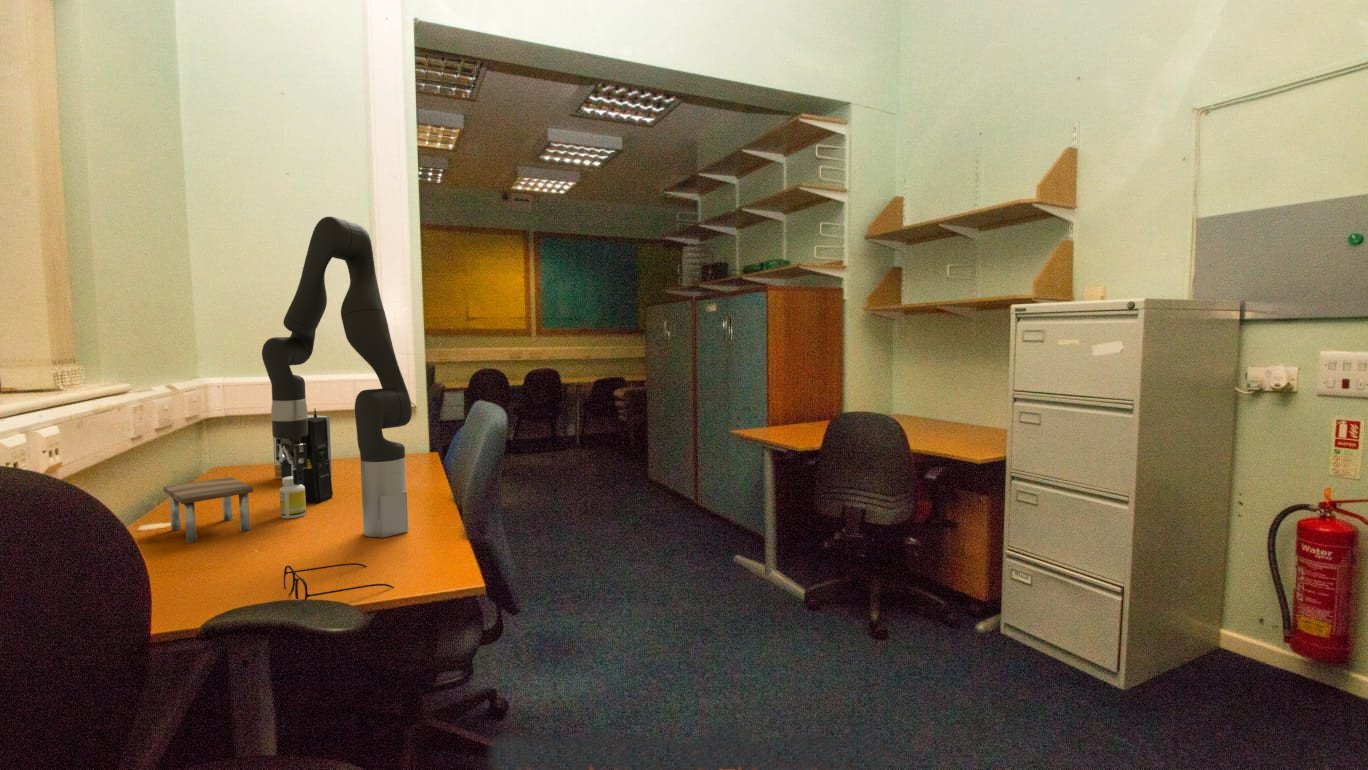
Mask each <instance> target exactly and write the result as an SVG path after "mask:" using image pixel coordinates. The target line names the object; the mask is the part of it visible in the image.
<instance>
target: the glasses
mask: <svg viewBox="0 0 1368 770" xmlns="http://www.w3.org/2000/svg"><path fill="white" fill-rule="evenodd" d="M344 566H361V567H363V568H367V567H368V566H367V565H365V564H362V563H356V562H355V563H353V562H352V563H348V562H347V563H340V564H333V565H325V566H320V567H311V568H305V569H299V570H294V569H293V568H292V566H291V565H285V568H284V570H283V587H284V590H287V587H286V576H287V574H291V575H292V586H291V589H290V592H289V593H288V595H292V594H293V593H294V595H295V596H294V597H295V600H296V599H299V591H298V590H299V587H298V585H299V581H301V582H302V584H303V586H304V587H303V588H304V601H305V600H306V601H307V599H308V598H310V597H317V596H322V595H328V594H333V593H339V592H346V591H351V590H356V589H363V588H369V587H388V588H392V589H394V588H395V586H392V585H391V584H387V583H375V584H374V583H372V584H364V585H359V586H354V587H353V586H351V587H348V588H346V587H345V588H343V589H342V588H340V589H336V590H335V589H334V590H329V591H323V592H318V593H310V594H309V593H308V585H307V582H306V581H305V580H304V578H302V577H300V576H299V575H298V574H297V573H300V572H302V573H303V572H309V571H314V570H315V571H316V570H322V569H327V568H335V567H344ZM287 569H289V570H290V571H287ZM296 577H297V578H296ZM299 600H300V599H299Z"/></svg>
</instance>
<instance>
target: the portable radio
mask: <svg viewBox="0 0 1368 770" xmlns="http://www.w3.org/2000/svg"><path fill="white" fill-rule="evenodd" d="M313 410H314V414H313V415H314V417H311V418H308V434H307V435H306V436H304V437H301V438H300V440H301V443H302V444H303V443H306V445H307V459H308V467H306V468H305V469H304V484H301V485H303V486H304V487H305V499H306V504H319V503H321V502H324V501H326V500H328V499H331V498H332V497H333V495H334V492H333V485H332V477H331V471H330V460H329V457H328V433H327V420H326V417H317V411H316V409H313ZM299 463H300V462H299Z"/></svg>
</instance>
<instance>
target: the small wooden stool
mask: <svg viewBox="0 0 1368 770" xmlns="http://www.w3.org/2000/svg"><path fill="white" fill-rule="evenodd" d="M163 493H165V494H166V495H167V496H168V497H169V498H168V500H169V513H170V514H169V515H170V529H171V530H177V531H181V530H182V518H181V504H182V505H183V509H184V510H183V512H184V527H185V541H186V542H185V543H186V544H193V543H195V542H198V539H197V525H196V524H197V522H196V507H195V506H196V505H195V503H198V502H204V501H209V500H215V499H221V500H222V501H221V502H222V503H221V504H222V515H223V517H222V518H223V519H222V520H223V521H225V522H227V521H228V522H229V521H232V520H233V503H232V502H233V501H232V497H234V496H238V507H239V508H238V509H239V527H240V529H239V530H240V532H241V533H243V532H249V531H251V521H250V518H251V517H250V503H249V494H250V493H254V488H253V486H251V485H249V484H247V483H245V482H243V481H240V480H239V479H237V478H235V477H232V476H228V477H221V478H214V479H208V480H202V481H201V480H200V481H194V482H187V483H181V484H174V485H168V486H167V485H166V486H163ZM180 529H181V530H180Z"/></svg>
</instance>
